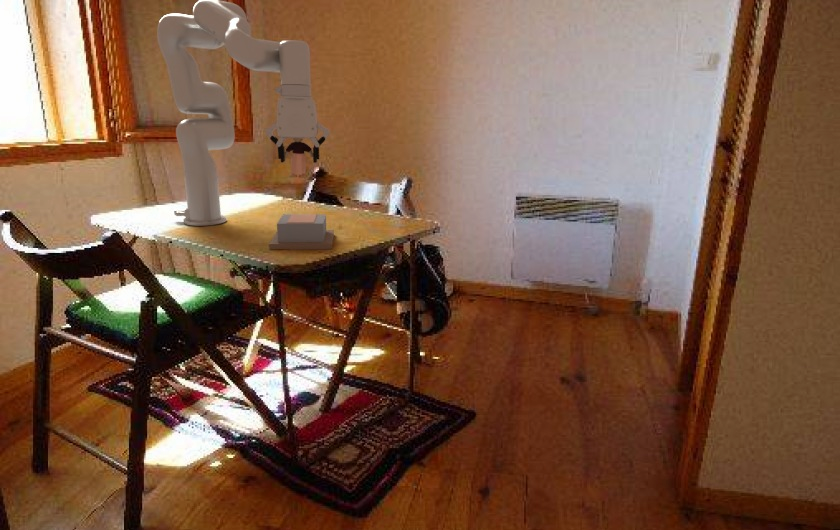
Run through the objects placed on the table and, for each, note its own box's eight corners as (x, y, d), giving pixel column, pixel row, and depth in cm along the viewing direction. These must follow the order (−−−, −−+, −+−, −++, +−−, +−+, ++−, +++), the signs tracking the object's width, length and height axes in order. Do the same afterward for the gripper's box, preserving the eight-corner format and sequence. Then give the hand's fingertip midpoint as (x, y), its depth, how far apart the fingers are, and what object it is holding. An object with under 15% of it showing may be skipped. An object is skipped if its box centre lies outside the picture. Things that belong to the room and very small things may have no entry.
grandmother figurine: (285, 178, 142) (283, 128, 138) (284, 176, 145) (282, 127, 141) (315, 177, 144) (313, 128, 140) (313, 175, 147) (312, 128, 144)
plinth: (269, 249, 141) (267, 224, 139) (278, 235, 156) (276, 212, 154) (331, 249, 143) (330, 224, 141) (333, 234, 158) (333, 212, 156)
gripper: (258, 91, 134) (263, 163, 139) (329, 93, 136) (331, 164, 141) (263, 92, 141) (267, 160, 146) (331, 93, 143) (333, 160, 148)
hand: (299, 161), depth 143 cm, fingers closed on grandmother figurine, 7 cm apart
